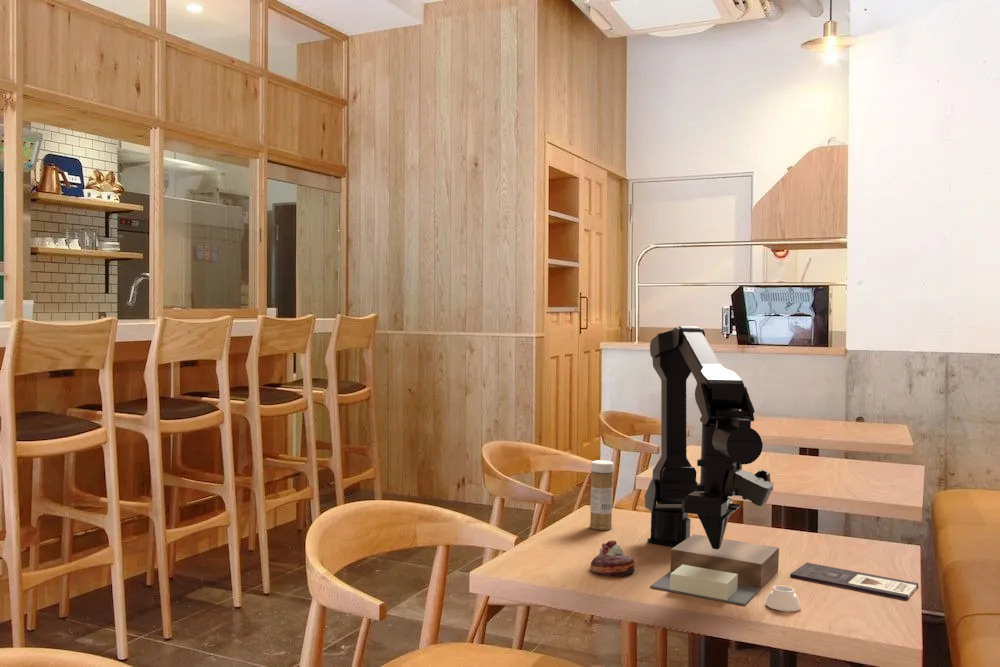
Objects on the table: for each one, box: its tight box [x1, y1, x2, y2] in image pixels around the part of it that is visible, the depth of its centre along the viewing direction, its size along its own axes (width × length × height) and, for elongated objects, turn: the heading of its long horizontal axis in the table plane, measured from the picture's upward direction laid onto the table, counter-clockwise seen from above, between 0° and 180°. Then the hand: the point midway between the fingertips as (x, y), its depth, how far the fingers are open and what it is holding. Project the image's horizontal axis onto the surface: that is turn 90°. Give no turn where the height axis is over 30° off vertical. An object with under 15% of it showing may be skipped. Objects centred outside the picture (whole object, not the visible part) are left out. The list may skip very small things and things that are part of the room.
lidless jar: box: [765, 585, 802, 613], centre depth 132 cm, size 5×3×5 cm
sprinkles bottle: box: [589, 459, 615, 531], centre depth 177 cm, size 5×5×14 cm
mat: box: [649, 571, 761, 606], centre depth 140 cm, size 15×9×1 cm, turn 60°
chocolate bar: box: [789, 562, 919, 601], centre depth 146 cm, size 9×1×18 cm
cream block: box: [670, 565, 738, 600], centre depth 138 cm, size 9×6×2 cm, turn 60°
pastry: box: [589, 540, 636, 578], centre depth 148 cm, size 8×8×5 cm
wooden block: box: [669, 533, 780, 590], centre depth 149 cm, size 15×12×4 cm
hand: (716, 548), depth 144 cm, fingers closed
